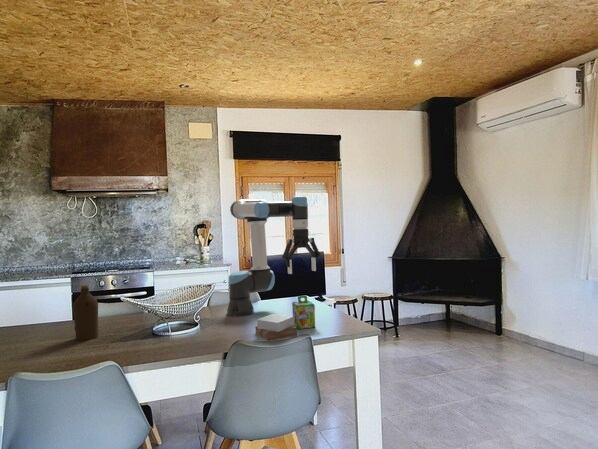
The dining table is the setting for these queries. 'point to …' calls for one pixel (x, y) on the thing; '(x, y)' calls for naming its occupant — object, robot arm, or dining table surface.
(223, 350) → the dining table surface
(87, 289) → the olive oil
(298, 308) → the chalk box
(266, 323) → the grey slab
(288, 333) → the walnut slab
